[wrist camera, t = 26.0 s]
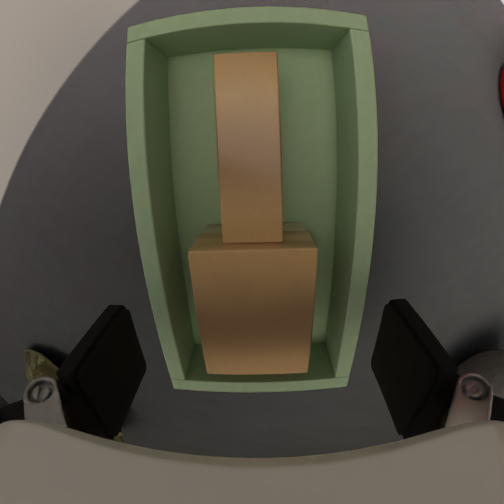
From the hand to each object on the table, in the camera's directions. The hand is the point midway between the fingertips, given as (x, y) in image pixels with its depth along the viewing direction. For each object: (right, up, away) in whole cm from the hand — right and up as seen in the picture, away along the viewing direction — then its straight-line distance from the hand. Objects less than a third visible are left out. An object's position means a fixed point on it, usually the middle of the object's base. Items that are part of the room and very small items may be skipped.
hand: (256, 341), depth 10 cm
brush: (0, +5, +3) cm, 6 cm away
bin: (0, +5, +4) cm, 7 cm away
